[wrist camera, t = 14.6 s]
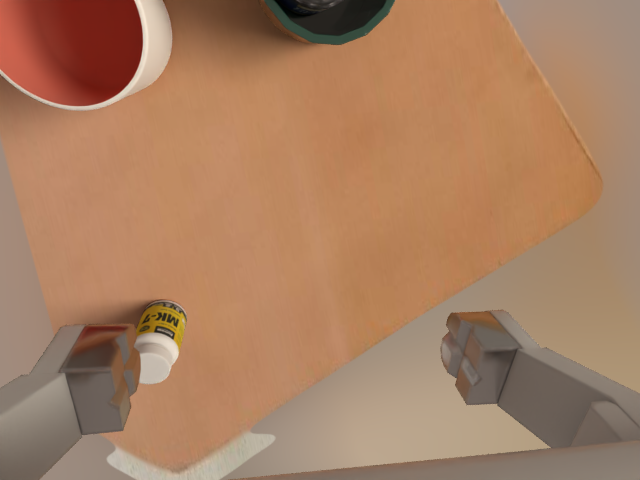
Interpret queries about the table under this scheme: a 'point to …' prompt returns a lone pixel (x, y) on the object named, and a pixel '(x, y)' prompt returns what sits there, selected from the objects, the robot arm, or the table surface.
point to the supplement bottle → (159, 339)
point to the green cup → (329, 20)
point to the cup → (83, 49)
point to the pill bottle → (308, 5)
